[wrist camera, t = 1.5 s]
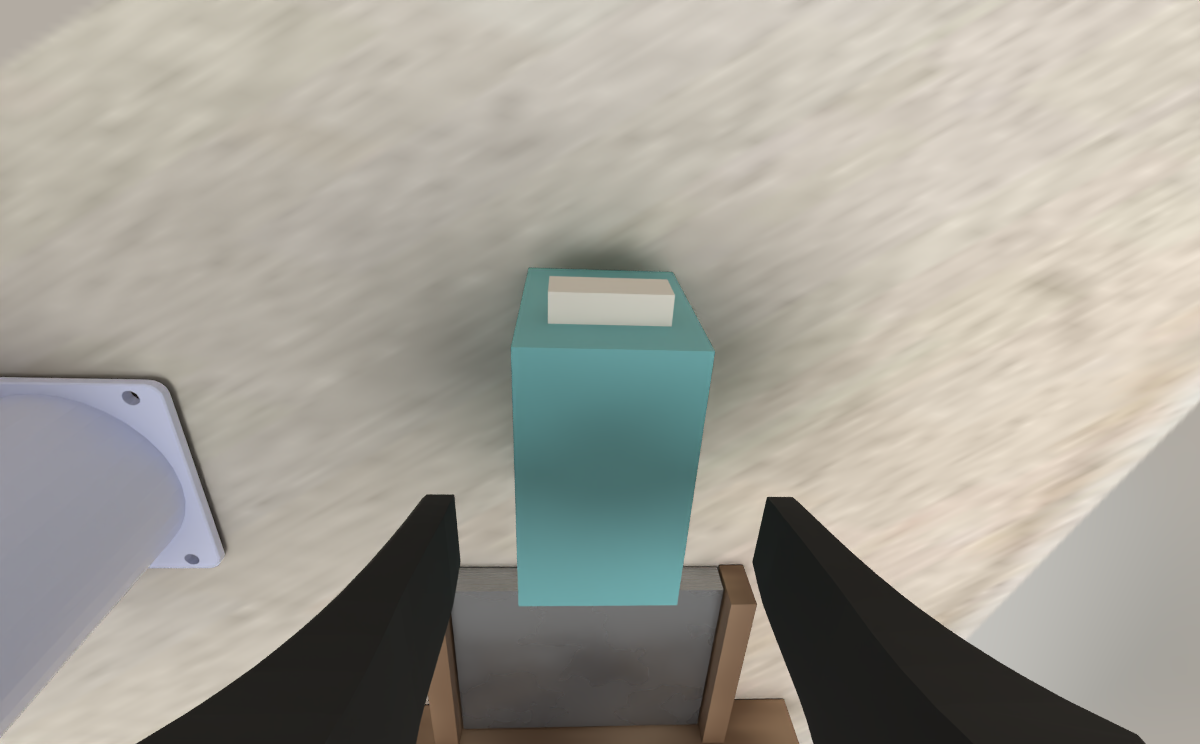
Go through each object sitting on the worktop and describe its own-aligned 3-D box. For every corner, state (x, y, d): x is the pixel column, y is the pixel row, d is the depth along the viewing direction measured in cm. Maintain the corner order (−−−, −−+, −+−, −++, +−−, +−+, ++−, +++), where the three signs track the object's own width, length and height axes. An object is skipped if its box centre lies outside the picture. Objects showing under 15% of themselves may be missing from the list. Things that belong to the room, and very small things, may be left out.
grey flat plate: (467, 703, 27) (463, 728, 26) (454, 567, 23) (449, 591, 22) (691, 699, 28) (696, 724, 27) (716, 566, 24) (723, 589, 23)
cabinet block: (531, 474, 21) (518, 606, 16) (528, 241, 17) (509, 312, 12) (650, 475, 22) (676, 605, 16) (674, 246, 18) (720, 318, 12)
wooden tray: (373, 725, 28) (326, 880, 22) (337, 566, 23) (266, 714, 17) (778, 717, 29) (825, 863, 23) (824, 564, 24) (897, 703, 19)
